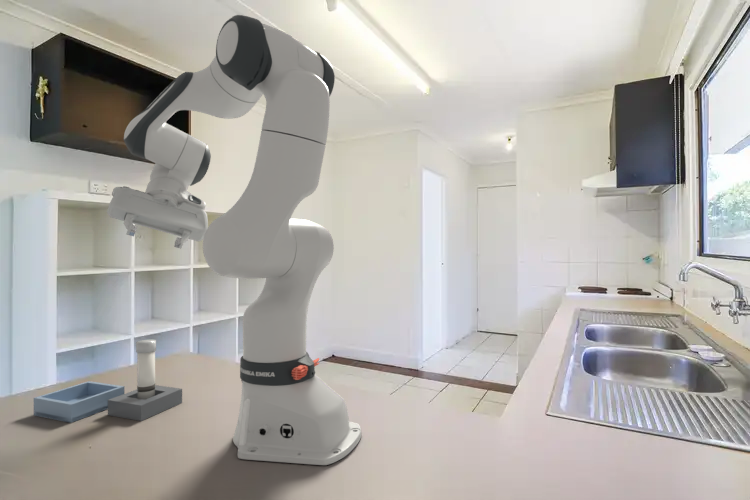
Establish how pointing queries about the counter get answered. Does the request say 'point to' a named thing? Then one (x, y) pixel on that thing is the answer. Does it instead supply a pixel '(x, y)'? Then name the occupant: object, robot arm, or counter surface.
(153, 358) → the fuse
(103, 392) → the parts tray
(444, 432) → the counter surface
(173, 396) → the block
